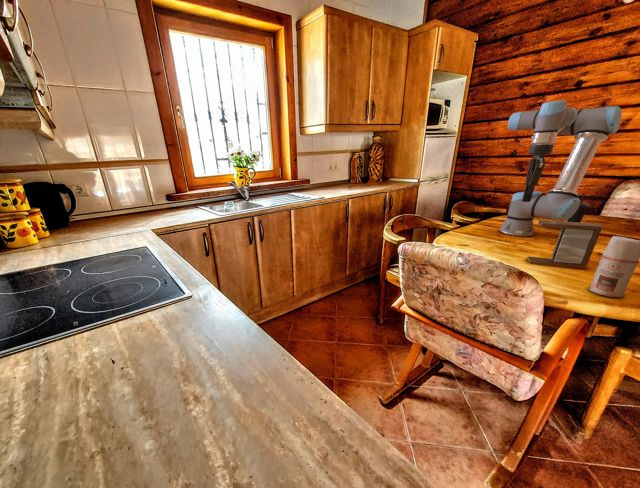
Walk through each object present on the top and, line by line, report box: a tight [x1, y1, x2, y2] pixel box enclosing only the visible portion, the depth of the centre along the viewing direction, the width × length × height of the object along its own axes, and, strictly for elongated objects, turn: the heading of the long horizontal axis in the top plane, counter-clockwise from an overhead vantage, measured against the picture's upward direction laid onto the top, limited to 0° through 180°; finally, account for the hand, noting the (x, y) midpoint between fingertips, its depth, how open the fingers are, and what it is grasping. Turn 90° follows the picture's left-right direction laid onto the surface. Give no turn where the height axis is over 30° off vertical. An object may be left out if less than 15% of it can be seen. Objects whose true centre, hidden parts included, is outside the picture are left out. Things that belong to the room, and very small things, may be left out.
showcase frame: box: [526, 220, 604, 270], centre depth 115 cm, size 5×18×18 cm, turn 64°
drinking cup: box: [566, 192, 590, 223], centre depth 158 cm, size 8×8×20 cm
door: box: [550, 228, 565, 260], centre depth 114 cm, size 2×9×14 cm, turn 64°
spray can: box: [588, 235, 640, 298], centre depth 92 cm, size 8×8×20 cm
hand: (525, 201), depth 123 cm, fingers closed
